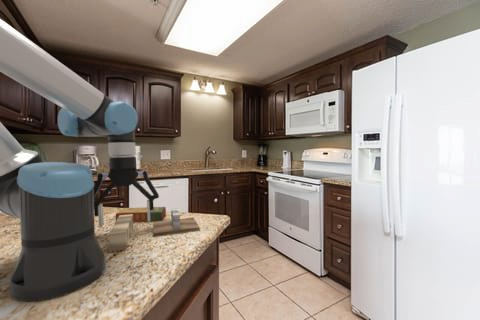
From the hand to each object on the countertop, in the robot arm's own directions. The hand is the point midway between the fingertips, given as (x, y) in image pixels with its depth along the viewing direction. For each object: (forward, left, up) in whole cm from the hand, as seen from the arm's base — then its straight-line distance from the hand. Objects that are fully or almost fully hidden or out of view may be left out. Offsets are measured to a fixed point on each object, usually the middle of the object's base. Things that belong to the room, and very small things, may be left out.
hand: (126, 223), depth 73 cm
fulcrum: (-1, -15, -3) cm, 15 cm away
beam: (-5, 0, -3) cm, 6 cm away
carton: (+13, -4, -4) cm, 14 cm away
